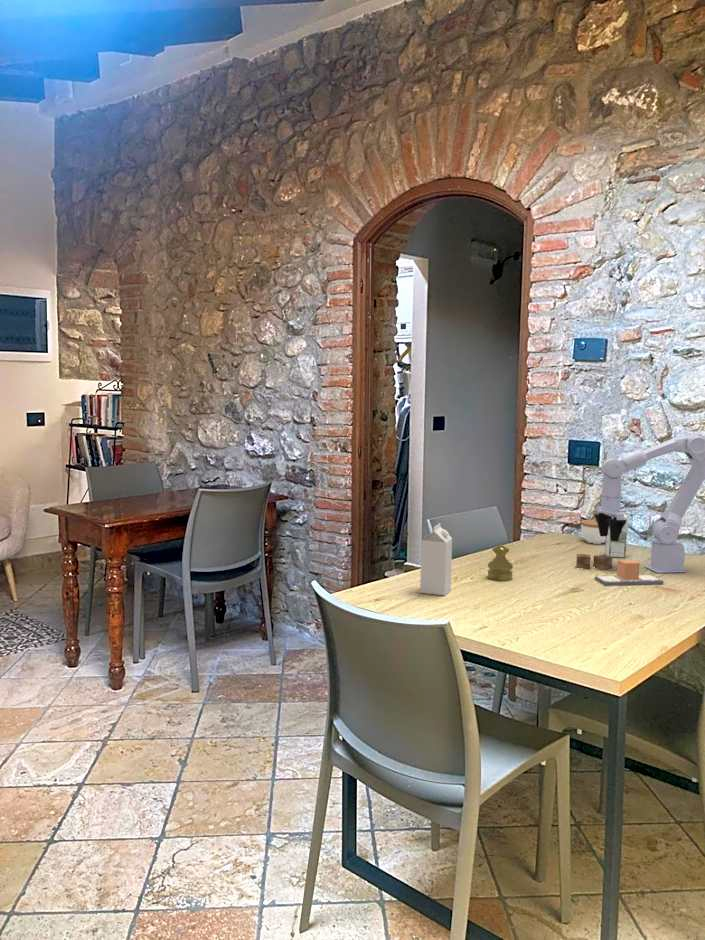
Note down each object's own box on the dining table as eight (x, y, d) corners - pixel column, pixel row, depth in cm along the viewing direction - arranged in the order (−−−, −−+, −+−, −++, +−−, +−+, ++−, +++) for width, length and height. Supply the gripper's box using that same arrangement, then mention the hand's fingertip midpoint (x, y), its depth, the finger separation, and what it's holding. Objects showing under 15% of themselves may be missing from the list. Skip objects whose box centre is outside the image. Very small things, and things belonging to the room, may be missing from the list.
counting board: (651, 578, 233) (651, 574, 233) (663, 584, 226) (663, 580, 226) (594, 579, 230) (594, 576, 230) (605, 585, 224) (605, 582, 223)
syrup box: (621, 554, 265) (623, 513, 263) (625, 558, 259) (628, 516, 257) (604, 554, 265) (606, 512, 264) (608, 557, 260) (610, 515, 258)
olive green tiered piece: (514, 581, 228) (515, 548, 226) (489, 581, 228) (490, 548, 226) (510, 575, 235) (511, 543, 234) (485, 574, 235) (486, 542, 234)
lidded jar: (606, 540, 289) (607, 515, 288) (613, 546, 278) (614, 520, 277) (577, 539, 290) (578, 514, 289) (583, 545, 279) (584, 519, 278)
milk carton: (419, 593, 213) (421, 526, 211) (426, 587, 220) (428, 522, 218) (444, 596, 211) (446, 528, 209) (450, 589, 217) (452, 523, 215)
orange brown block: (631, 575, 231) (632, 559, 230) (638, 579, 227) (639, 563, 226) (617, 576, 230) (617, 559, 230) (624, 580, 226) (625, 563, 225)
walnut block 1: (589, 566, 247) (589, 554, 247) (590, 569, 243) (590, 557, 243) (576, 566, 248) (576, 553, 247) (576, 568, 244) (577, 556, 244)
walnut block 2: (603, 566, 247) (603, 554, 247) (611, 569, 243) (612, 557, 243) (593, 567, 246) (593, 555, 245) (601, 570, 242) (602, 558, 241)
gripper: (589, 493, 250) (587, 534, 252) (609, 500, 236) (607, 543, 237) (609, 493, 251) (607, 533, 253) (631, 499, 237) (628, 543, 238)
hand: (608, 538), depth 245 cm, fingers open, 7 cm apart
